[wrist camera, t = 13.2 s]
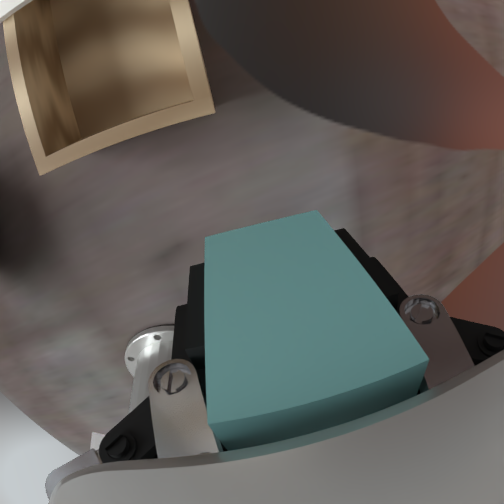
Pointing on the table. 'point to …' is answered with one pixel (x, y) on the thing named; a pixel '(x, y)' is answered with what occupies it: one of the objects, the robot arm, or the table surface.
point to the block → (298, 334)
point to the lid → (11, 7)
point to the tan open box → (103, 73)
